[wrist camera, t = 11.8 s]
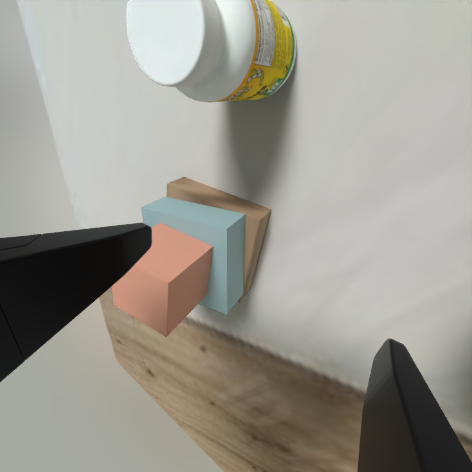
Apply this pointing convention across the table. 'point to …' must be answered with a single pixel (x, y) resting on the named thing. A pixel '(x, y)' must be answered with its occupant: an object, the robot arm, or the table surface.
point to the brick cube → (165, 280)
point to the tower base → (219, 199)
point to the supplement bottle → (213, 46)
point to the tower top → (215, 234)
